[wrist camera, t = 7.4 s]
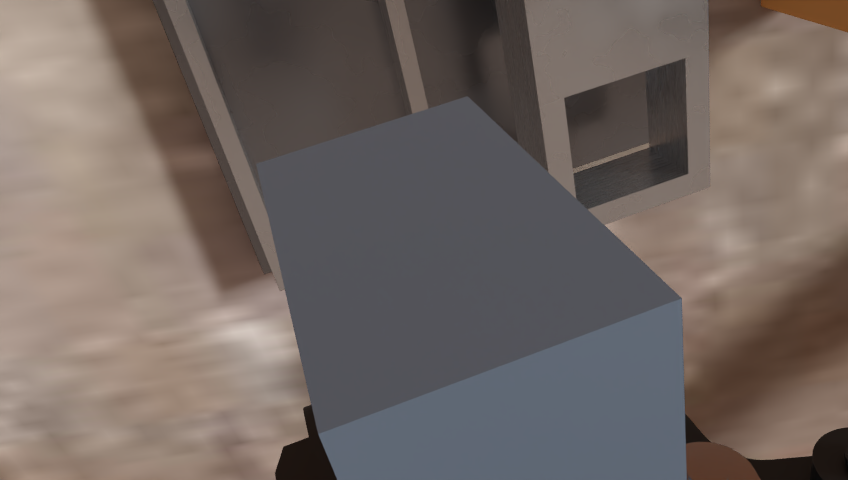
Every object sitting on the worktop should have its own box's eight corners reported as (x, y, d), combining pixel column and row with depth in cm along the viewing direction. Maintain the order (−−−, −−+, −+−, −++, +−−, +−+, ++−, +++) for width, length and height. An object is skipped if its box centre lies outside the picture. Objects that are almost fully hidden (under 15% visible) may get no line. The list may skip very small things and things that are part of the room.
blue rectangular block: (467, 96, 12) (681, 298, 7) (543, 493, 17) (694, 771, 12) (255, 163, 11) (317, 434, 6) (401, 550, 17) (497, 864, 12)
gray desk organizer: (644, 137, 37) (857, 276, 26) (263, 266, 35) (306, 489, 23) (621, -240, 29) (926, -290, 17) (112, -106, 26) (58, -55, 14)
